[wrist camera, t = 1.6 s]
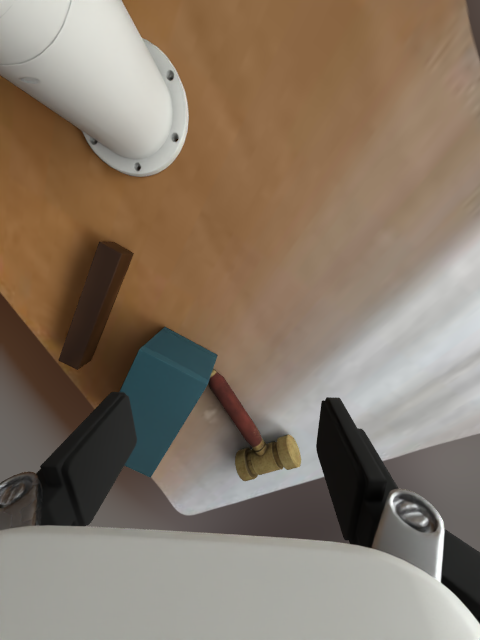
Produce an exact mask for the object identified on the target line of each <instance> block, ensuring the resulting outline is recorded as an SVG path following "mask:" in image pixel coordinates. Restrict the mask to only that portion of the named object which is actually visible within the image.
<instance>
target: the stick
mask: <svg viewBox="0 0 480 640" xmlns="http://www.w3.org/2000/svg"><path fill="white" fill-rule="evenodd" d="M133 254H134V253H132V252H130V251H129V250H127V249H125V248H123V247H121V246H120V245H118V244H116V243H114V242H99V244H98V247H97V250H96V253H95V256H94V259H93V262H92V265H91V268H90V271H89V273H88V276H87V279H86V282H85V285H84V288H83V291H82V294H81V297H80V300H79V302H78V305H77V308H76V311H75V314H74V317H73V320H72V323H71V326H70V329H69V332H68V334H67V337H66V340H65V343H64V346H63V349H62V352H61V355H60V358H59V361H61V362H63V363H65V364H67V365H69V366H71V367H73V368H75V369H77V370H78V369H79V368H81V367H82V366H84V365H85V364H87V363H88V362H90V361H91V359H92V357H93V354H94V352H95V349H96V347H97V344H98V342H99V339H100V337H101V334H102V332H103V329H104V327H105V324H106V322H107V319H108V317H109V314H110V312H111V309H112V307H113V304H114V302H115V299H116V297H117V294H118V292H119V289H120V286H121V284H122V281H123V279H124V276H125V274H126V271H127V269H128V266H129V264H130V261H131V259H132V256H133Z"/></svg>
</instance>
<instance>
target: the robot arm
mask: <svg viewBox="0 0 480 640" xmlns="http://www.w3.org/2000/svg"><path fill="white" fill-rule="evenodd" d="M0 75H1V76H2V77H4V78H5V79H7V80H8V81H10V82H11V83H13V84H14V85H16V86H17V87H19V88H20V89H21V90H23V91H24V92H26V93H27V94H29V95H30V96H32V97H33V98H35V99H36V100H38V101H39V102H41V103H42V104H44V105H45V106H46V107H48V108H49V109H51V110H52V111H54V112H55V113H57V114H58V115H60V116H61V117H63V118H64V119H66V120H67V121H69V122H70V123H71V124H73V125H74V126H76V127H77V128H79V129H80V130H82V132H83V134H84V136H85V138H86V140H87V142H88V144H89V145H90V147H91V148H92V149H93V151H94V152H95V153H96V154H97V155H98V156H99V157H100V158H101V159H102V160H103V161H104V162H105V163H107V164H108V165H109V166H111V167H112V168H114V169H116V170H118V171H119V172H122V173H124V174H127V175H130V176H137V177H143V176H150V175H153V174H157V173H159V172H161V171H162V170H164V169H166V168H167V167H168V166H169V165H170V164H171V163H172V162H173V161H174V160H175V159H176V157H177V156H178V154H179V153H180V151H181V149H182V147H183V144H184V142H185V138H186V134H187V131H188V120H189V115H188V103H187V98H186V94H185V90H184V88H183V85H182V83H181V80H180V78H179V75H178V73H177V71H176V69H175V68H174V66H173V65H172V63H171V62H170V60H169V59H168V57H167V56H166V55H165V54H164V53H163V52H162V51H161V50H160V49H159V48H158V47H156V46H155V45H153V44H152V43H150V42H149V41H148V40H145V39H143V38H141V36H140V34H139V32H138V30H137V28H136V27H135V25H134V23H133V21H132V19H131V17H130V15H129V13H128V12H127V10H126V8H125V6H124V4H123V2H122V0H0ZM172 79H173V80H172ZM176 139H178V141H177V142H175V140H176ZM140 167H141V169H140V171H139V168H140ZM136 443H137V436H136V431H135V425H134V420H133V415H132V409H131V404H130V399H129V396H127V395H126V394H125V393H124V392H111V393H110V394H109V395H108V396H107V397H106V398H105V399H104V400H103V401H102V402H101V404H100V405H99V406H98V407H97V408H96V409H95V410H94V411H93V412H92V413H91V414H90V415H89V416H88V417H87V418H86V419H85V420H84V421H83V422H82V423H81V424H80V425H79V426H78V428H77V429H76V430H75V431H74V432H73V433H72V434H71V435H70V436H69V437H68V438H67V439H66V440H65V441H64V442H63V443H62V444H61V445H60V446H59V447H58V448H57V449H56V450H55V451H54V453H52V455H51V456H50V457H49V458H48V459H47V460H46V461H45V462H44V463H43V464H42V465H41V466H40V467H41V469H40V470H39V471H38V472H37V473H36V474H35V473H33V472H24V473H20V474H17V475H14V476H12V477H10V478H8V479H6V480H5V481H3V482H1V483H0V640H480V552H478V551H477V550H475V549H474V548H472V547H471V546H469V545H468V544H466V543H465V542H463V541H462V540H460V539H459V538H457V537H456V536H454V535H453V534H451V533H450V532H448V531H447V530H445V529H444V524H443V521H442V519H441V517H440V515H439V513H438V512H437V511H436V510H435V508H434V507H433V506H432V505H431V504H430V503H429V502H428V501H427V500H425V499H424V498H422V497H421V496H419V495H418V494H416V493H414V492H412V491H409V490H405V489H398V487H397V485H396V484H395V482H394V480H393V479H392V477H391V475H390V473H389V472H388V470H387V469H386V467H385V465H384V464H383V462H382V460H381V458H380V457H379V455H378V453H377V452H376V450H375V448H374V447H373V445H372V443H371V442H370V440H369V438H368V437H367V435H366V433H365V432H364V431H363V430H362V429H357V427H356V425H355V424H354V422H353V420H352V418H351V417H350V415H349V413H348V411H347V410H346V408H345V406H344V404H343V403H342V401H341V399H340V398H326V400H325V401H322V404H321V412H320V420H319V428H318V436H317V445H316V447H317V454H318V457H319V460H320V464H321V467H322V470H323V473H324V477H325V480H326V483H327V486H328V489H329V493H330V496H331V499H332V502H333V505H334V509H335V512H336V515H337V518H338V522H339V524H340V528H341V531H342V534H343V537H344V539H345V540H349V542H350V544H346V543H338V542H328V541H317V540H305V539H294V538H278V537H263V536H248V535H231V534H215V533H199V532H198V533H197V532H180V531H164V530H146V529H125V528H107V527H86V525H89V524H90V523H91V521H92V520H93V518H94V516H95V515H96V513H97V511H98V510H99V508H100V506H101V504H102V503H103V501H104V499H105V498H106V496H107V494H108V492H109V491H110V489H111V487H112V486H113V484H114V482H115V480H116V478H117V477H118V475H119V473H120V472H121V470H122V468H123V466H124V465H125V463H126V462H127V460H128V458H129V456H130V455H131V453H132V451H133V450H134V448H135V446H136Z"/></svg>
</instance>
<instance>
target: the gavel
mask: <svg viewBox="0 0 480 640" xmlns="http://www.w3.org/2000/svg"><path fill="white" fill-rule="evenodd" d="M209 385H210V388H211V389H212V391H213V392H214V394H215V395H216V397H217V398H218V400H219V401H220V403H221V404H222V406H223V407H224V409H225V410H226V412H227V413H228V415H229V416H230V418H231V419H232V421H233V422H234V424H235V425H236V427H237V428H238V430H239V431H240V432H241V434H242V435H243V437H244V438H245V440H246V441H247V442H248V443H249V444H250V445H251V446H252V448H253V449H252V450H251V449H250V448H245V449H242V450H239V451H238V452H237V453H236V457H235V465H236V470H237V473H238V475H239V477H240V478H241V479H242V480H243V481H248V480H251V479H255V478H256V477H257V476H258V475H261V474H265V473H269V472H272V471H276V470H280V469H283V467H285V468H286V469H287V470H289V469H293V468H297V467H300V464H301V456H300V452H299V448H298V446H297V443H296V441H295V440H294V438H293V437H292V436H291V435H286V436H283V437H279V438H278V439H277V442H271V443H268V444H266V443H265V442H264V440H263V439H262V437H261V435H260V432H259V430H258V429H257V427H256V426H255V424H254V423H253V421H252V420H251V418H250V417H249V415H248V414H247V412H246V411H245V409H244V408H243V406H242V405H241V403H240V401H239V400H238V398H237V397H236V395H235V394H234V392H233V391H232V389H231V388H230V386H229V385H228V383H227V382H226V380H225V379H224V377H222V376H221V375H220V374H218V373H217V372H216V371H215V370H212V373H211V376H210V379H209Z"/></svg>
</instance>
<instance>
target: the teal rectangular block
mask: <svg viewBox="0 0 480 640" xmlns="http://www.w3.org/2000/svg"><path fill="white" fill-rule="evenodd" d="M216 358H217V355H216V354H215V353H213V352H211V351H209V350H207V349H205V348H203V347H202V346H200V345H198V344H196V343H194V342H192V341H190V340H189V339H187V338H185V337H183V336H181V335H179V334H177V333H176V332H174V331H172V330H170V329H168V328H166V327H164V328H163V329H162V330H161V331H159V332H158V333H157V334H156V335H155V336H154V337H153V338H152V339H150V340H149V341H148V342H147V343H146V344H145V345H144V346H142V347H141V348H140V349H139V351H138V353H137V355H136V357H135V360H134V362H133V364H132V366H131V368H130V370H129V372H128V375H127V377H126V379H125V381H124V383H123V385H122V387H121V390H120V392H124V393H125V394H126V395H127V396H129V399H130V404H131V409H132V415H133V420H134V425H135V431H136V436H137V443H136V446H135V448H134V450H133V451H132V453H131V455H130V456H129V458H128V460H127V462H126V463H125V465H124V466H127V467H129V468H131V469H133V470H135V471H138V472H140V473H142V474H144V475H146V476H149V477H151V476H152V474H153V473H154V471H155V470H156V468H157V466H158V465H159V463H160V461H161V460H162V458H163V457H164V455H165V453H166V452H167V450H168V448H169V447H170V445H171V443H172V442H173V440H174V439H175V437H176V435H177V434H178V432H179V430H180V429H181V427H182V426H183V424H184V422H185V421H186V419H187V417H188V416H189V414H190V413H191V411H192V409H193V408H194V406H195V404H196V403H197V401H198V399H199V398H200V396H201V395H202V393H203V391H204V390H205V388H206V386H207V385H208V382H209V379H210V376H211V373H212V370H213V367H214V364H215V361H216Z"/></svg>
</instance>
